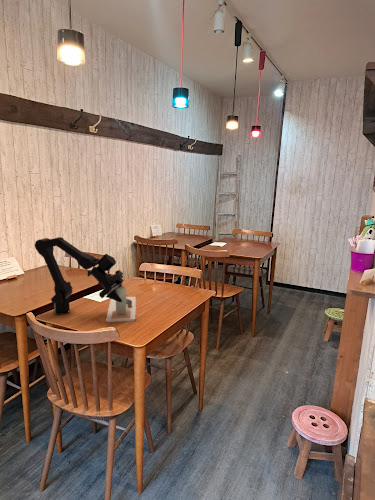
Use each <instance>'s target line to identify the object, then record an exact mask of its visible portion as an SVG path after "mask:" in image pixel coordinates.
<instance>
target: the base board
mask: <svg viewBox="0 0 375 500" xmlns="http://www.w3.org/2000/svg"><path fill="white" fill-rule="evenodd" d="M126 299H129V300H131V301H132V307H130V308H129V307H128V304H127V305H126V311H131V313H130V318H120V319H111V317H112V312H113V311H116V300H113V299H110V300H109V306H108V310H107V314H106V318H105V323H112V322H113V323H116V322H119V323H121V322H136V311H137V310H136V306H137V305H136V303H137V301H136V300H137V296H126Z"/></svg>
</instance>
